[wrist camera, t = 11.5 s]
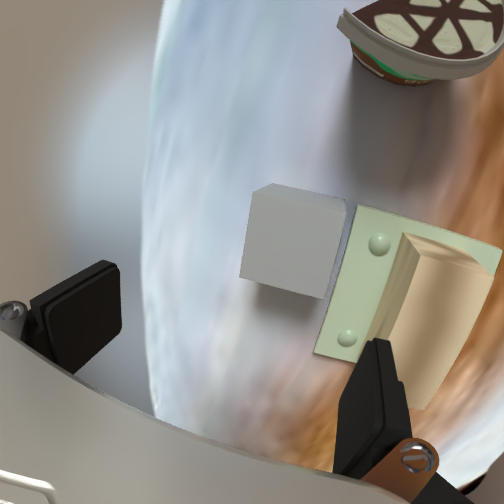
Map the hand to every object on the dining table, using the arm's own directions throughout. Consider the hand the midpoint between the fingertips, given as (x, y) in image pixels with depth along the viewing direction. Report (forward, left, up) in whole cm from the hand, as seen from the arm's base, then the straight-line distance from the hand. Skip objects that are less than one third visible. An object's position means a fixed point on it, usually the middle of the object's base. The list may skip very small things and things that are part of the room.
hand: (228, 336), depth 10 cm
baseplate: (-11, +4, -16) cm, 20 cm away
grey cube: (0, 0, -17) cm, 17 cm away
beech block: (-11, +4, -15) cm, 20 cm away
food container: (-7, -16, -17) cm, 24 cm away
